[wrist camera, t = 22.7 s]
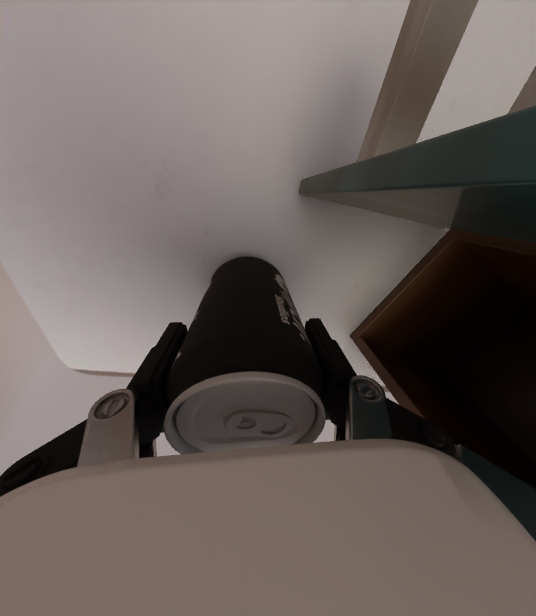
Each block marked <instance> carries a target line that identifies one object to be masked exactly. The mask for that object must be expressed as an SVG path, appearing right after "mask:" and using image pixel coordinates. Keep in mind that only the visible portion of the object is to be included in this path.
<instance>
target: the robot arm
mask: <svg viewBox="0 0 536 616" xmlns="http://www.w3.org/2000/svg"><path fill="white" fill-rule="evenodd" d="M187 332H188V331H187V327H186V325H183V324H182V322H171V323H170V324H169V325H168V327H167V328H166V330H165V332H164V333H163V335H162V336H161V338H160V340H159V341H158V343H157V344H156V346H155V347H153V348H152V349H151V350H150V352H149V353H148V355H147V356H146V358H145V360H144V361H143V363H142V364H141V366H140V367H139V369H138V371H137V372H136V374H135V375H134V377H133V378H132V380H131V382H130V383H129V385H128V386H127V388H126V389H119V390H115V391H112V392H110V393H108V394H106V395H104V396H103V397H101V398H100V399H99V400H98V401H97V402H95V404H94V405H93V406H92V408H91V409H90V412H89V415H88V419H86V420H85V421H83V422H81V423H80V424H78V425H76V426H75V427H73V428H71V429H70V430H68V431H66V432H65V433H63V434H61V435H60V436H58V437H56V438H55V439H53V440H51V441H50V442H48V443H46V444H45V445H43V446H41V447H40V448H38V449H36V450H34V451H33V452H31V453H29V454H28V455H26V456H24V457H23V458H21V459H20V460H19V461H17V462H16V463H14V464H13V465H12V466H11V467H9V468H8V469H7V470H6V471H5V472H4V473H3V474H2V475H1V476H0V616H536V489H535V488H534V487H532V486H531V485H529V484H528V483H526V482H524V481H523V480H521V479H519V478H518V477H516V476H514V475H512V474H511V473H509V472H507V471H506V470H504V469H502V468H500V467H499V466H497V465H495V464H494V463H492V462H490V461H488V460H487V459H485V458H483V457H482V456H480V455H478V454H476V453H475V452H473V451H471V450H470V449H468V448H466V447H464V446H463V445H461V444H459V445H458V446H457V445H455V444H454V443H453V442H452V440H451V438H450V437H449V436H448V435H447V434H446V433H445V432H444V431H443V430H442V429H441V428H440V427H438V426H437V425H435V424H434V423H432V422H430V421H428V420H426V419H424V418H423V417H421V416H419V415H417V414H415V413H413V412H412V411H410V410H408V409H406V408H404V407H402V406H400V405H398V404H397V403H395V402H393V401H391V400H389V399H387V398H386V396H385V392H384V390H383V388H382V387H381V385H380V384H379V383H377V382H376V381H375V380H373V379H371V378H369V377H367V376H362V375H358V376H357V375H356V373H355V371H354V370H353V368H352V366H351V365H350V363H349V361H348V360H347V358H346V356H345V355H344V353H343V352H342V350H341V348H340V347H339V345H338V343H337V342H336V341H335V340H332V339H331V337H330V335H329V334H328V332H327V330H326V328H325V327H324V325H323V323H322V321H321V320H320V319H319V318H312V319H309V321H306V324H305V332H306V334H307V336H308V339H309V341H310V344H311V346H312V348H313V351H314V353H315V355H316V358H317V360H318V363H319V365H320V367H321V370H322V374H323V391H322V396H321V402H322V404H323V406H324V410H325V415H326V419H325V420H331V422H332V423H333V424H335V431H334V441H331V442H318V443H306V444H293V445H281V446H270V447H258V448H247V449H235V450H224V451H213V452H202V453H191V454H180V455H170V456H159V457H157V451H156V438H157V437H158V436H159V435H160V433H161V432H164V421H165V417H166V414H167V412H168V409H169V408H170V406H169V402H168V398H167V379H168V376H169V373H170V371H171V368H172V366H173V364H174V362H175V359H176V357H177V355H178V353H179V350H180V348H181V346H182V344H183V341H184V339H185V337H186V335H187Z"/></svg>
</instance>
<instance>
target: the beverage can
mask: <svg viewBox="0 0 536 616" xmlns="http://www.w3.org/2000/svg"><path fill="white" fill-rule="evenodd" d="M322 391H323V374H322V370H321V367H320V365H319V363H318V360H317V358H316V355H315V353H314V351H313V348H312V346H311V344H310V341H309V339H308V336H307V334H306V332H305V329H304V327H303V325H302V322H301V320H300V317H299V315H298V313H297V310H296V308H295V306H294V303H293V301H292V298H291V296H290V294H289V291H288V289H287V287H286V284H285V282H284V279H283V277H282V276H281V274H280V272H279V271H278V270H277V269H276V268H275V267H274V266H273V265H271V264H270V263H268V262H266V261H264V260H262V259H259V258H254V257H240V258H235V259H232V260H230V261H228V262H226V263H224V264H223V265H222V266H220V267H219V268H218V269H217V271H216V272H215V273H214V275H213V276H212V279H211V281H210V283H209V285H208V288H207V290H206V292H205V294H204V297H203V299H202V301H201V303H200V305H199V308H198V310H197V312H196V314H195V317H194V319H193V321H192V323H191V326H190V328H189V330H188V332H187V335H186V337H185V339H184V341H183V344H182V346H181V348H180V350H179V353H178V355H177V357H176V359H175V362H174V364H173V366H172V368H171V371H170V373H169V376H168V379H167V398H168V402H169V406H170V408H169V409H168V412H167V414H166V417H165V421H164V433H165V436H166V439H167V440H168V442H169V443H170V444H171V446H172V447H173V448H174V449H175V450H176V451H177V452H179V453H180V454H191V453H202V452H213V451H224V450H235V449H247V448H258V447H270V446H281V445H293V444H306V443H313V442H314V441H315V440H316V439H317V437H318V436H319V435H320V433H321V432H322V430H323V428H324V424H325V419H326V415H325V410H324V406H323V404H322V402H321V396H322Z"/></svg>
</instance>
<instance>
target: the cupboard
mask: <svg viewBox="0 0 536 616" xmlns="http://www.w3.org/2000/svg"><path fill="white" fill-rule="evenodd" d="M350 337H351V339H352V340H353V341H354V343H355V344H356V345H357V347H358V348H359V350H360V351H361V352H362V354H363V355H364V357H365V358H366V359H367V361H368V362H369V363H370V365H371V366H372V368H373V369H374V370H375V372H376V373H377V375H378V376H379V377H380V379H381V380H382V381H383V383H384V384H385V386H386V387H387V388H388V390H389V391H390V392H391V394H392V395H393V397H394V398H395V399H396V401H397V402H398V403H399V405H400V406H402V407H404V408H406V409H408V410H410V411H412V412H413V413H415V414H417V415H419V416H421V417H423V418H424V419H426V420H428V421H430V422H432V423H434V424H435V425H437V426H438V427H440V428H441V429H442V430H443V431H444V432H445V433H446V434H447V435H448V436H449V437H450V438H451V440H452V442H453V443H454V444H455V445H457V446H458V445H459V444H461V445H463V446H464V447H466V448H468V449H470V450H471V451H473V452H475V453H476V454H478V455H480V456H482V457H483V458H485V459H487V460H488V461H490V462H492V463H494V464H495V465H497V466H499V467H500V468H502V469H504V470H506V471H507V472H509V473H511V474H512V475H514V476H516V477H518V478H519V479H521V480H523V481H524V482H526V483H528V484H529V485H531V486H532V487H534V488H535V489H536V242H529V241H523V240H517V239H511V238H504V237H498V236H492V235H486V234H479V233H473V232H467V231H461V230H454V229H451V230H450V231H449V232H448V233H447V234H446V235H445V236H444V237H443V238H442V239H441V241H440V242H439V243H438V244H437V245H436V246H435V247H434V248H433V249H432V250H431V251H430V252H429V253H428V254H427V255H426V256H425V257H424V258H423V259H422V261H421V262H420V263H419V264H418V265H417V266H416V267H415V268H414V269H413V270H412V271H411V272H410V273H409V274H408V275H407V276H406V277H405V278H404V279H403V281H402V282H401V283H400V284H399V285H398V286H397V287H396V288H395V289H394V290H393V291H392V292H391V293H390V294H389V295H388V296H387V297H386V298H385V300H384V301H383V302H382V303H381V304H380V305H379V306H378V307H377V308H376V309H375V310H374V311H373V312H372V313H371V314H370V315H369V316H368V317H367V318H366V320H365V321H364V322H363V323H362V324H361V325H360V326H359V327H358V328H357V329H356V330H355V331H354V332H353V333H352V334H351V335H350Z"/></svg>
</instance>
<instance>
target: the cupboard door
mask: <svg viewBox="0 0 536 616" xmlns="http://www.w3.org/2000/svg"><path fill="white" fill-rule="evenodd" d="M477 2H478V0H411V1H410V4H409V7H408V10H407V13H406V16H405V19H404V22H403V25H402V28H401V31H400V34H399V37H398V40H397V43H396V46H395V49H394V52H393V55H392V58H391V61H390V64H389V67H388V70H387V73H386V76H385V79H384V82H383V85H382V88H381V91H380V94H379V97H378V100H377V103H376V106H375V109H374V112H373V115H372V118H371V121H370V124H369V127H368V130H367V133H366V136H365V139H364V142H363V145H362V148H361V151H360V154H359V157H358V160H357V162H356V163H353V164H350V165H347V166H344V167H341V168H337V169H334V170H331V171H328V172H325V173H322V174H319V175H315V176H312V177H309V178H306V179H303V180H302V182H301V187H300V191H299V194H300V195H304V196H308V197H313V198H317V199H321V200H326V201H330V202H334V203H339V204H343V205H348V206H352V207H356V208H361V209H365V210H369V211H374V212H378V213H382V214H387V215H391V216H395V217H400V218H404V219H408V220H413V221H417V222H422V223H426V224H430V225H435V226H439V227H443V228H448V229H454V230H461V231H467V232H473V233H479V234H486V235H492V236H498V237H504V238H511V239H517V240H523V241H529V242H536V66H535V68H534V70H533V72H532V73H531V75H530V77H529V78H528V80H527V82H526V84H525V85H524V87H523V89H522V90H521V92H520V94H519V96H518V97H517V99H516V101H515V102H514V104H513V106H512V107H511V109H510V111H509V113H508V114H507V115H504V116H501V117H498V118H495V119H492V120H489V121H485V122H482V123H479V124H476V125H473V126H470V127H467V128H463V129H460V130H457V131H454V132H451V133H448V134H445V135H441V136H438V137H435V138H432V139H429V140H426V141H422V142H419V143H416V141H417V139H418V137H419V135H420V132H421V130H422V128H423V125H424V123H425V121H426V119H427V116H428V114H429V112H430V109H431V107H432V105H433V103H434V100H435V98H436V96H437V93H438V91H439V89H440V87H441V84H442V82H443V80H444V77H445V75H446V73H447V71H448V68H449V66H450V64H451V61H452V59H453V57H454V55H455V52H456V50H457V48H458V45H459V43H460V41H461V39H462V36H463V34H464V32H465V29H466V27H467V25H468V23H469V20H470V18H471V16H472V13H473V11H474V9H475V7H476V4H477Z"/></svg>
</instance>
